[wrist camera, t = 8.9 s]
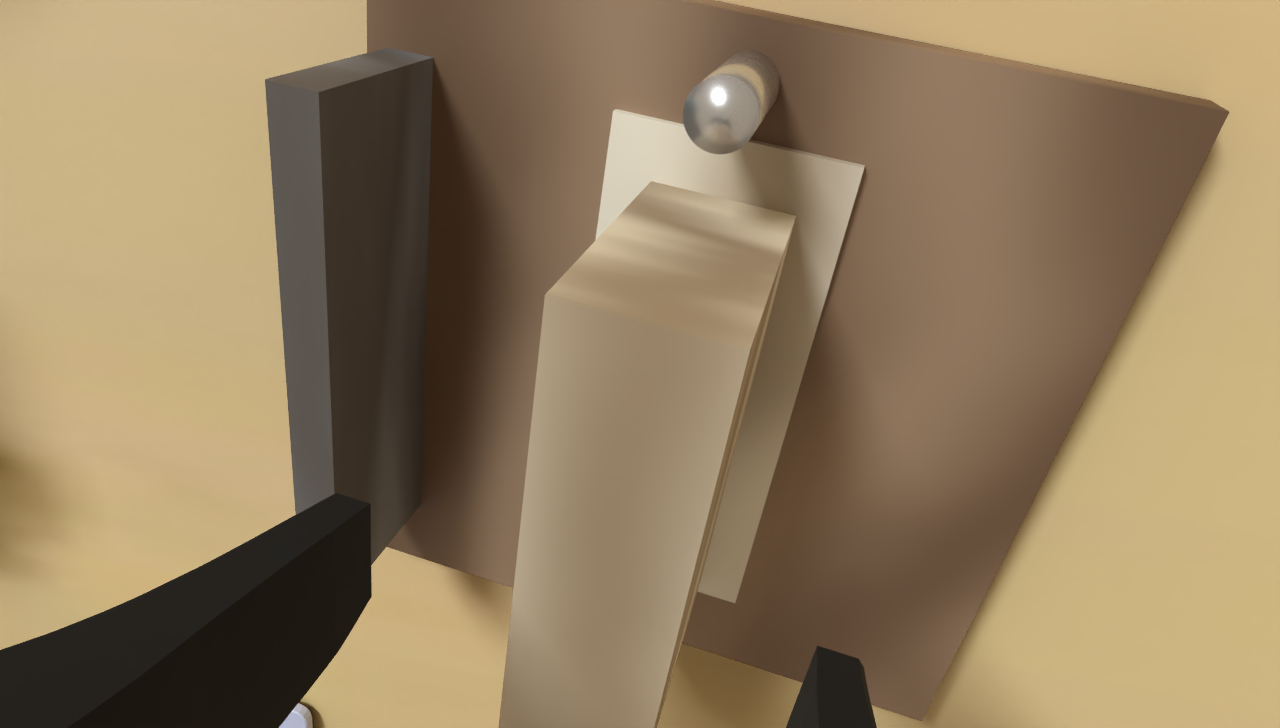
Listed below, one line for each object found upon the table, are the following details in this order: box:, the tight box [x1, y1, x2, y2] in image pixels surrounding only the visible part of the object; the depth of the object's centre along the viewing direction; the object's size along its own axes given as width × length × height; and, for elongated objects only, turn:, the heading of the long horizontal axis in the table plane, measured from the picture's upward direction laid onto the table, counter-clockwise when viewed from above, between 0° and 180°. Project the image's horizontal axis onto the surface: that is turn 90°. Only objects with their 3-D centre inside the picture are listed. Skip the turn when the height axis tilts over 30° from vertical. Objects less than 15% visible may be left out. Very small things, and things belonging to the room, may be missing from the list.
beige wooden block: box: [499, 181, 796, 728], centre depth 17 cm, size 3×10×6 cm, turn 171°
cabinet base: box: [265, 0, 1229, 721], centre depth 18 cm, size 16×16×5 cm
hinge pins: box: [683, 51, 780, 154], centre depth 18 cm, size 1×15×3 cm, turn 171°
